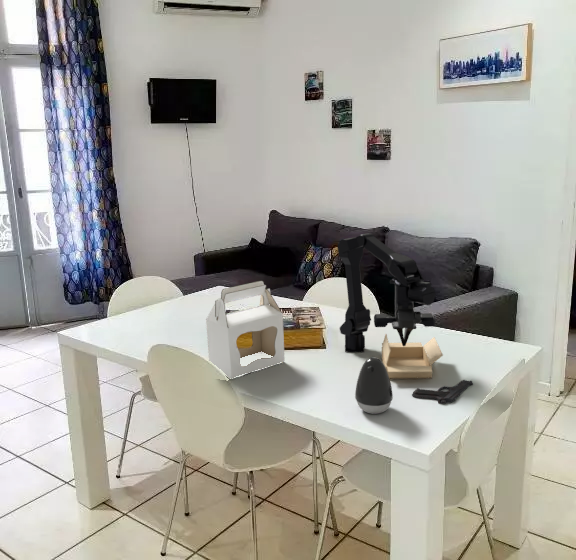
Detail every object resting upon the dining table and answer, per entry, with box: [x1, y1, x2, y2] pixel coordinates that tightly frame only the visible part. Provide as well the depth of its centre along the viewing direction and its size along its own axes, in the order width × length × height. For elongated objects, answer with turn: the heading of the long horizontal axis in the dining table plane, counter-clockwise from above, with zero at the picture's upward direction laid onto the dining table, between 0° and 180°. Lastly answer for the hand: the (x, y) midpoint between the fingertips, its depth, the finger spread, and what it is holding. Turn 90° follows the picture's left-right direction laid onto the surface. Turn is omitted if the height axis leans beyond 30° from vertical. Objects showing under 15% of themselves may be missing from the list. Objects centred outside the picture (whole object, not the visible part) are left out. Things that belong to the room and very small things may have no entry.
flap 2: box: [423, 337, 444, 365], centre depth 197 cm, size 1×17×4 cm
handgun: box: [411, 379, 474, 405], centre depth 181 cm, size 18×2×12 cm
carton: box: [381, 342, 433, 380], centre depth 199 cm, size 14×26×4 cm, turn 176°
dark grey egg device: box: [354, 356, 394, 415], centre depth 168 cm, size 10×10×15 cm
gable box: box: [205, 280, 286, 380], centre depth 203 cm, size 22×13×28 cm, turn 129°
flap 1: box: [381, 333, 391, 364], centre depth 198 cm, size 1×17×4 cm, turn 175°
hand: (403, 345), depth 197 cm, fingers closed
